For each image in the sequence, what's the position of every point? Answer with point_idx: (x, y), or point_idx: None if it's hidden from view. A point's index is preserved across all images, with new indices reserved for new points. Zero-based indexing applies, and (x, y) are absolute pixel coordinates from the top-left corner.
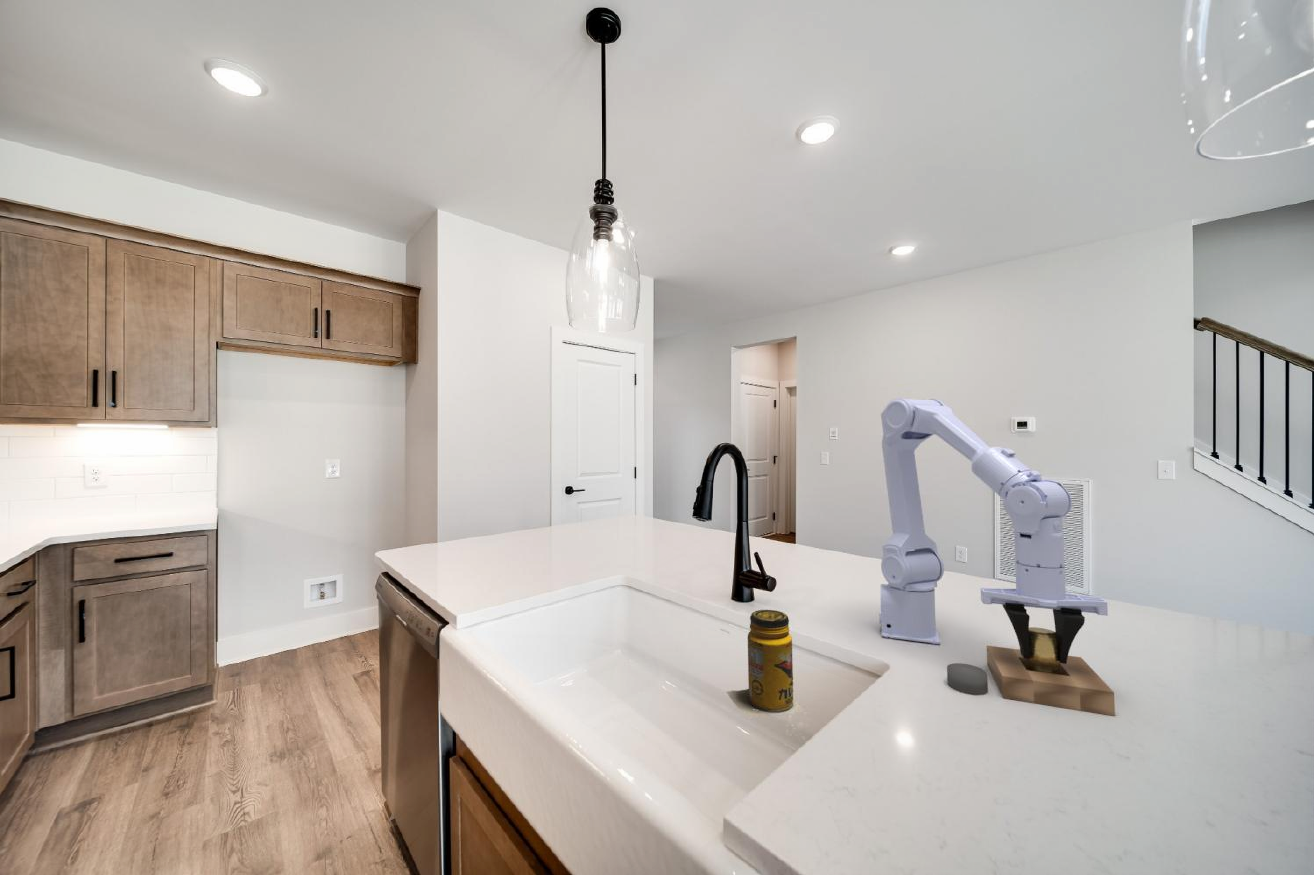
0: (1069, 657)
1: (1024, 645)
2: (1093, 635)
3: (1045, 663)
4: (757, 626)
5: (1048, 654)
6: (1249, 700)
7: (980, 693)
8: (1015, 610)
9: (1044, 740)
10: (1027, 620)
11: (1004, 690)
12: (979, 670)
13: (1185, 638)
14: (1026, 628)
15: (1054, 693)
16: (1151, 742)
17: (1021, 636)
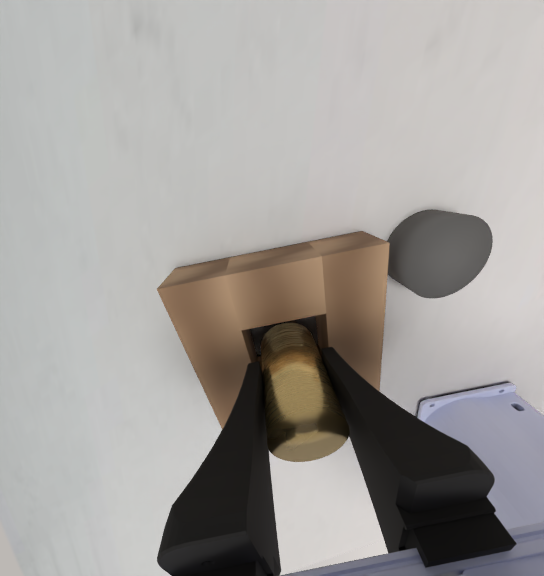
0: None
1: (347, 367)
2: None
3: (289, 345)
4: None
5: (286, 365)
6: (25, 435)
7: (405, 221)
8: (451, 501)
9: (311, 5)
10: (390, 449)
11: (367, 234)
12: (418, 276)
13: (122, 548)
14: (370, 416)
15: (275, 256)
16: (106, 171)
17: (367, 387)
